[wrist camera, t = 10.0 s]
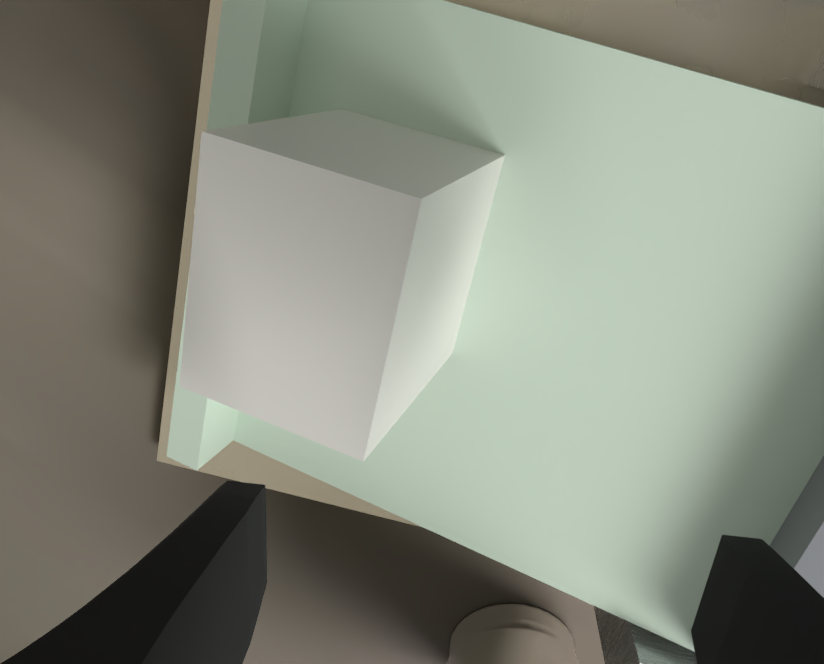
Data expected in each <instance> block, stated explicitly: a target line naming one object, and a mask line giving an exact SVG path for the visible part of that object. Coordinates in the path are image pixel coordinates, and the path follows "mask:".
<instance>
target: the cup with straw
mask: <svg viewBox="0 0 824 664" xmlns="http://www.w3.org/2000/svg"><path fill="white" fill-rule="evenodd" d="M449 652H450V657H449V659H448V661H447V664H580V662H579V660H578V658H577V657H576V656H575V643H574V640H573V638H572V635H571V633H570V632H569V630H568V629H567V627H566V626H565V625H564V624H563V623H562V622H561V621H560V620H559V619H558V618H556V617H555V616H553V615H552V614H550V613H548V612H546V611H544V610H541V609H539V608H536V607H532V606H528V605H523V604H498V605H493V606H488V607H485V608H483V609H480V610H477V611H475V612H473V613H472V614H470V615H469V616H467V617H466V618H465V619H463V620H462V621H461V622H460V623H459V624H458V626H457V627H456V628H455V630H454V631H453V634H452V636H451V639H450V647H449Z"/></svg>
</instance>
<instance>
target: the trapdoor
mask: <svg viewBox="0 0 824 664" xmlns="http://www.w3.org/2000/svg"><path fill="white" fill-rule="evenodd" d="M338 109H345V110H348V111H352V112H355V113H359V114H362V115H366V116H369V117H373V118H376V119H380V120H383V121H387V122H390V123H394V124H397V125H401V126H405V127H408V128H412V129H415V130H419V131H422V132H426V133H429V134H433V135H436V136H440V137H443V138H447V139H450V140H454V141H457V142H461V143H464V144H468V145H471V146H475V147H478V148H482V149H485V150H489V151H492V152H496V153H499V154H503V155H505V157H504V160H503V164H502V168H501V172H500V176H499V179H498V183H497V187H496V191H495V195H494V198H493V202H492V206H491V210H490V213H489V217H488V221H487V225H486V229H485V232H484V236H483V240H482V244H481V248H480V251H479V255H478V259H477V263H476V267H475V270H474V274H473V278H472V282H471V285H470V289H469V293H468V297H467V301H466V304H465V308H464V312H463V316H462V320H461V323H460V327H459V331H458V335H457V339H456V342H455V346H454V350H453V353H452V355H451V356H450V357H449V358H448V359H447V361H446V362H445V363H444V364H443V366H442V367H441V368H440V369H439V370H438V372H437V373H436V374H435V375H434V376H433V378H432V379H431V380H430V381H429V383H428V384H427V385H426V386H425V387H424V389H423V390H422V391H421V392H420V394H419V395H418V396H417V397H416V398H415V400H414V401H413V402H412V403H411V404H410V406H409V407H408V408H407V409H406V411H405V412H404V413H403V414H402V415H401V417H400V418H399V419H398V420H397V421H396V423H395V424H394V425H393V426H392V428H391V429H390V430H389V431H388V432H387V434H386V435H385V436H384V437H383V438H382V440H381V441H380V442H379V443H378V445H377V446H376V447H375V448H374V449H373V451H372V452H371V453H370V454H369V456H368V457H367V458H366V459H365V460H364V462H363V461H361V460H358V459H356V458H353V457H351V456H349V455H346V454H344V453H341V452H339V451H336V450H334V449H331V448H329V447H327V446H324V445H322V444H319V443H317V442H314V441H312V440H309V439H307V438H305V437H302V436H300V435H297V434H295V433H292V432H290V431H287V430H285V429H282V428H280V427H278V426H275V425H273V424H270V423H268V422H265V421H263V420H260V419H258V418H256V417H253V416H251V415H248V414H246V413H243V412H241V411H238V410H236V409H233V408H231V407H229V406H226V405H224V404H221V403H219V402H216V401H214V400H211V399H209V398H207V397H204V396H202V395H199V394H197V393H194V392H192V391H189V390H187V389H184V388H182V387H180V375H181V363H182V352H183V340H184V329H185V317H186V306H187V294H188V285H187V293H186V301H185V310H184V318H183V326H182V334H181V342H180V350H179V358H178V366H177V375H176V383H175V391H174V399H173V407H172V415H171V423H170V431H169V440H168V448H167V457H169V458H171V459H173V460H175V461H177V462H179V463H182V464H184V465H186V466H188V467H190V468H192V469H194V470H196V471H197V470H198V469H199V468H201V467H202V466H203V465H204V464H205V463H207V462H208V461H209V460H210V459H211V458H213V457H214V456H215V455H216V454H218V453H219V452H220V451H221V450H222V449H224V448H225V447H226V446H227V445H228V444H230V443H231V442H232V441H233V440H234V441H236V442H238V443H240V444H242V445H245V446H247V447H249V448H251V449H253V450H256V451H258V452H260V453H262V454H264V455H266V456H269V457H271V458H273V459H275V460H277V461H280V462H282V463H284V464H286V465H288V466H290V467H293V468H295V469H297V470H299V471H301V472H304V473H306V474H308V475H310V476H312V477H314V478H317V479H319V480H321V481H323V482H325V483H328V484H330V485H332V486H334V487H336V488H338V489H341V490H343V491H345V492H347V493H349V494H352V495H354V496H356V497H358V498H360V499H362V500H365V501H367V502H369V503H371V504H373V505H376V506H378V507H380V508H382V509H384V510H386V511H389V512H391V513H393V514H395V515H397V516H400V517H402V518H404V519H406V520H408V521H410V522H413V523H415V524H417V525H419V526H421V527H424V528H426V529H428V530H430V531H432V532H434V533H437V534H439V535H441V536H443V537H445V538H448V539H450V540H452V541H454V542H456V543H458V544H461V545H463V546H465V547H467V548H469V549H472V550H474V551H476V552H478V553H480V554H482V555H485V556H487V557H489V558H491V559H493V560H496V561H498V562H500V563H502V564H504V565H506V566H509V567H511V568H513V569H515V570H517V571H519V572H522V573H524V574H526V575H528V576H530V577H533V578H535V579H537V580H539V581H541V582H543V583H546V584H548V585H550V586H552V587H554V588H557V589H559V590H561V591H563V592H565V593H567V594H570V595H572V596H574V597H576V598H578V599H581V600H583V601H585V602H587V603H589V604H591V605H594V606H596V607H598V608H600V609H602V610H605V611H607V612H609V613H611V614H613V615H615V616H618V617H620V618H622V619H624V620H626V621H629V622H631V623H633V624H635V625H637V626H639V627H642V628H644V629H646V630H648V631H650V632H653V633H655V634H657V635H659V636H661V637H663V638H666V639H668V640H670V641H672V642H674V643H677V644H679V645H681V646H683V647H685V648H687V649H690V650H692V651H694V652H695V650H694V645H693V639H692V634H691V629H692V626H693V623H694V620H695V617H696V613H697V610H698V607H699V604H700V601H701V598H702V595H703V592H704V589H705V586H706V583H707V580H708V576H709V573H710V570H711V567H712V564H713V561H714V558H715V555H716V552H717V549H718V546H719V542H720V539H721V536H722V535H730V536H739V537H748V538H758V539H762V540H764V541H765V542H766V543H767V544H768V545H769V546H770V547H771V548H773V549H774V550H775V551H776V552H777V553H778V554H779V555H780V556H781V557H782V558H783V559H784V560H785V561H786V562H787V563H788V564H789V565H790V566H791V567H792V568H794V569H795V570H796V571H797V572H798V573H799V574H800V575H801V576H802V577H803V578H804V579H805V580H806V581H807V582H808V583H809V584H810V585H811V586H812V587H813V588H814V589H815V590H816V591H817V592H818V593H819V594H820V595H821V596H822V597H823V598H824V107H821V106H817V105H814V104H810V103H807V102H803V101H800V100H796V99H793V98H789V97H786V96H782V95H779V94H775V93H772V92H768V91H764V90H761V89H757V88H754V87H750V86H747V85H743V84H740V83H736V82H733V81H729V80H726V79H722V78H719V77H715V76H711V75H708V74H704V73H701V72H697V71H694V70H690V69H687V68H683V67H680V66H676V65H673V64H669V63H666V62H662V61H659V60H655V59H651V58H648V57H644V56H641V55H637V54H634V53H630V52H627V51H623V50H620V49H616V48H613V47H609V46H606V45H602V44H598V43H595V42H591V41H588V40H584V39H581V38H577V37H574V36H570V35H567V34H563V33H560V32H556V31H553V30H549V29H545V28H542V27H538V26H535V25H531V24H528V23H524V22H521V21H517V20H514V19H510V18H507V17H503V16H500V15H496V14H493V13H489V12H485V11H482V10H478V9H475V8H471V7H468V6H464V5H461V4H457V3H454V2H450V1H447V0H223V1H222V9H221V17H220V25H219V33H218V41H217V50H216V58H215V66H214V74H213V82H212V90H211V98H210V106H209V115H208V123H207V130H212V129H218V128H225V127H231V126H237V125H244V124H250V123H256V122H263V121H269V120H275V119H282V118H288V117H294V116H301V115H307V114H313V113H320V112H326V111H332V110H338ZM189 271H190V269H189ZM188 283H189V277H188Z"/></svg>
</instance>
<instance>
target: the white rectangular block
mask: <svg viewBox="0 0 824 664" xmlns="http://www.w3.org/2000/svg"><path fill="white" fill-rule="evenodd" d="M504 157H505V155H503V154H499V153H496V152H492V151H489V150H485V149H482V148H478V147H475V146H471V145H468V144H464V143H461V142H457V141H454V140H450V139H447V138H443V137H440V136H436V135H433V134H429V133H426V132H422V131H419V130H415V129H412V128H408V127H405V126H401V125H397V124H394V123H390V122H387V121H383V120H380V119H376V118H373V117H369V116H366V115H362V114H359V113H355V112H352V111H348V110H345V109H338V110H332V111H326V112H320V113H313V114H307V115H301V116H294V117H288V118H282V119H275V120H269V121H263V122H256V123H250V124H244V125H237V126H231V127H225V128H218V129H212V130H206V131H202V133H201V145H200V156H199V168H198V179H197V191H196V202H195V214H194V225H193V237H192V248H191V260H190V271H189V283H188V294H187V306H186V317H185V329H184V340H183V352H182V363H181V375H180V387H182V388H184V389H187V390H189V391H192V392H194V393H197V394H199V395H202V396H204V397H207V398H209V399H211V400H214V401H216V402H219V403H221V404H224V405H226V406H229V407H231V408H233V409H236V410H238V411H241V412H243V413H246V414H248V415H251V416H253V417H256V418H258V419H260V420H263V421H265V422H268V423H270V424H273V425H275V426H278V427H280V428H282V429H285V430H287V431H290V432H292V433H295V434H297V435H300V436H302V437H305V438H307V439H309V440H312V441H314V442H317V443H319V444H322V445H324V446H327V447H329V448H331V449H334V450H336V451H339V452H341V453H344V454H346V455H349V456H351V457H353V458H356V459H358V460H361V461H363V462H364V460H365V459H366V458H367V457H368V456H369V454H370V453H371V452H372V451H373V449H374V448H375V447H376V446H377V445H378V443H379V442H380V441H381V440H382V438H383V437H384V436H385V435H386V434H387V432H388V431H389V430H390V429H391V428H392V426H393V425H394V424H395V423H396V421H397V420H398V419H399V418H400V417H401V415H402V414H403V413H404V412H405V411H406V409H407V408H408V407H409V406H410V404H411V403H412V402H413V401H414V400H415V398H416V397H417V396H418V395H419V394H420V392H421V391H422V390H423V389H424V387H425V386H426V385H427V384H428V383H429V381H430V380H431V379H432V378H433V376H434V375H435V374H436V373H437V372H438V370H439V369H440V368H441V367H442V366H443V364H444V363H445V362H446V361H447V359H448V358H449V357H450V356H451V355H452V353H453V350H454V346H455V342H456V339H457V335H458V331H459V327H460V323H461V320H462V316H463V312H464V308H465V304H466V301H467V297H468V293H469V289H470V285H471V282H472V278H473V274H474V270H475V267H476V263H477V259H478V255H479V251H480V248H481V244H482V240H483V236H484V232H485V229H486V225H487V221H488V217H489V213H490V210H491V206H492V202H493V198H494V195H495V191H496V187H497V183H498V179H499V176H500V172H501V168H502V164H503V160H504Z"/></svg>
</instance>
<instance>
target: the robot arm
mask: <svg viewBox="0 0 824 664" xmlns="http://www.w3.org/2000/svg"><path fill="white" fill-rule="evenodd" d="M266 583H267V562H266V495H265V485H263V484H254V483H244V482H235V481H227V482H226V483H224V484H223V485H222V486H220V487H219V488H218V489H217V490H216V491H215V492H214V493H213V494H212V495H211V496H210V497H209V498H208V499H207V500H206V501H205V502H204V503H203V504H202V505H201V506H199V507H198V508H197V509H196V510H195V511H194V512H193V513H192V514H191V515H190V516H189V517H188V518H187V519H186V520H185V521H184V522H182V523H181V524H180V525H179V526H178V527H177V528H176V529H175V530H174V531H173V532H172V533H171V534H170V535H168V536H167V537H166V538H165V539H164V540H163V541H162V542H161V543H159V544H158V545H157V546H156V547H155V548H154V549H153V550H151V551H150V552H149V553H148V554H147V555H146V556H145V557H144V558H142V559H141V560H140V561H139V562H138V563H137V564H136V565H134V566H133V567H132V568H131V569H130V570H128V571H127V572H126V573H125V574H124V575H122V576H121V577H120V578H119V579H117V580H116V581H115V582H114V583H112V584H111V585H110V586H109V587H107V588H106V589H105V590H104V591H102V592H101V593H100V594H99V595H97V596H96V597H95V598H94V599H92V600H91V601H90V602H89V603H87V604H86V605H85V606H83V607H82V608H81V609H79V610H78V611H77V612H75V613H74V614H73V615H71V616H70V617H69V618H67V619H66V620H65V621H63V622H62V623H60V624H59V625H58V626H56V627H55V628H53V629H52V630H51V631H49V632H48V633H46V634H45V635H43V636H42V637H41V638H39V639H38V640H36V641H35V642H33V643H32V644H30V645H29V646H27V647H26V648H24V649H23V650H21V651H20V652H18V653H17V654H15V655H14V656H12V657H11V658H9V659H7V660H6V661H4V662H2V663H1V664H242V663H243V660H244V658H245V655H246V653H247V650H248V648H249V645H250V642H251V639H252V635H253V632H254V628H255V625H256V621H257V617H258V614H259V610H260V606H261V602H262V599H263V595H264V591H265V587H266ZM691 634H692V639H693V645H694V650H695V655H696V660H697V664H824V598H823V597H822V596H821V595H820V594H819V593H818V592H817V591H816V590H815V589H814V588H813V587H812V586H811V585H810V584H809V583H808V582H807V581H806V580H805V579H804V578H803V577H802V576H801V575H800V574H799V573H798V572H797V571H796V570H795V569H794V568H792V567H791V566H790V565H789V564H788V563H787V562H786V561H785V560H784V559H783V558H782V557H781V556H780V555H779V554H778V553H777V552H776V551H775V550H774V549H773V548H771V547H770V546H769V545H768V544H767V543H766V542H765V541H764V540H762V539H758V538H748V537H739V536H730V535H722V536H721V539H720V542H719V546H718V549H717V552H716V555H715V558H714V561H713V564H712V567H711V570H710V573H709V576H708V580H707V583H706V586H705V589H704V592H703V595H702V598H701V601H700V604H699V607H698V610H697V613H696V617H695V620H694V623H693V626H692V629H691Z"/></svg>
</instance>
